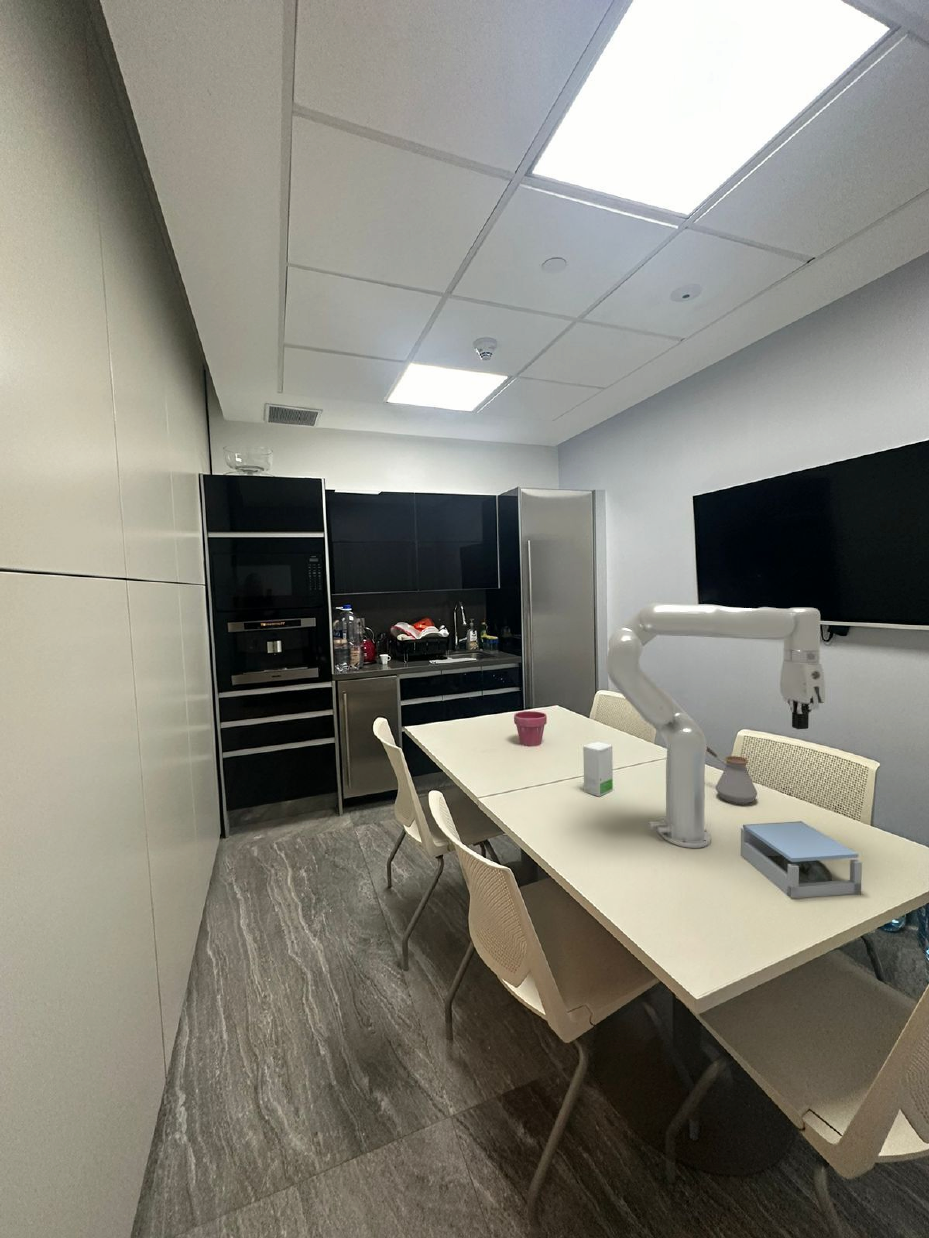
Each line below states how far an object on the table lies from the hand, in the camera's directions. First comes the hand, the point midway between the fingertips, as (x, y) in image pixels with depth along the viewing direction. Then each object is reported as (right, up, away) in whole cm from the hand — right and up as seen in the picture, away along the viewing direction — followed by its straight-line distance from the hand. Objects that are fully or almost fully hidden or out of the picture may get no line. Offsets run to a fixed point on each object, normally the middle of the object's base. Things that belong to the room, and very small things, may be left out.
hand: (800, 727), depth 124 cm
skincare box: (-41, -30, +39) cm, 64 cm away
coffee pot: (-1, -29, +35) cm, 46 cm away
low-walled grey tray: (-7, -32, -10) cm, 34 cm away
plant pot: (-56, -27, +91) cm, 111 cm away
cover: (-8, -25, -10) cm, 27 cm away
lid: (-7, -32, -12) cm, 35 cm away
